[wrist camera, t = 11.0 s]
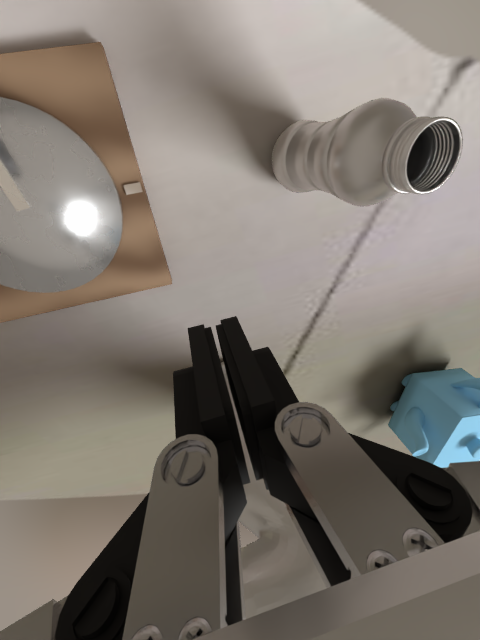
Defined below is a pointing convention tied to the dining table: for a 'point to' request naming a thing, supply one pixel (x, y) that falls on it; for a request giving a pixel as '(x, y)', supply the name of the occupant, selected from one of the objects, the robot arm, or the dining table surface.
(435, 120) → the plastic bottle
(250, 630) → the robot arm
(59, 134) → the dial
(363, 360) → the dining table surface
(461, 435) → the teakettle
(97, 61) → the dial base
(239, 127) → the dining table surface
